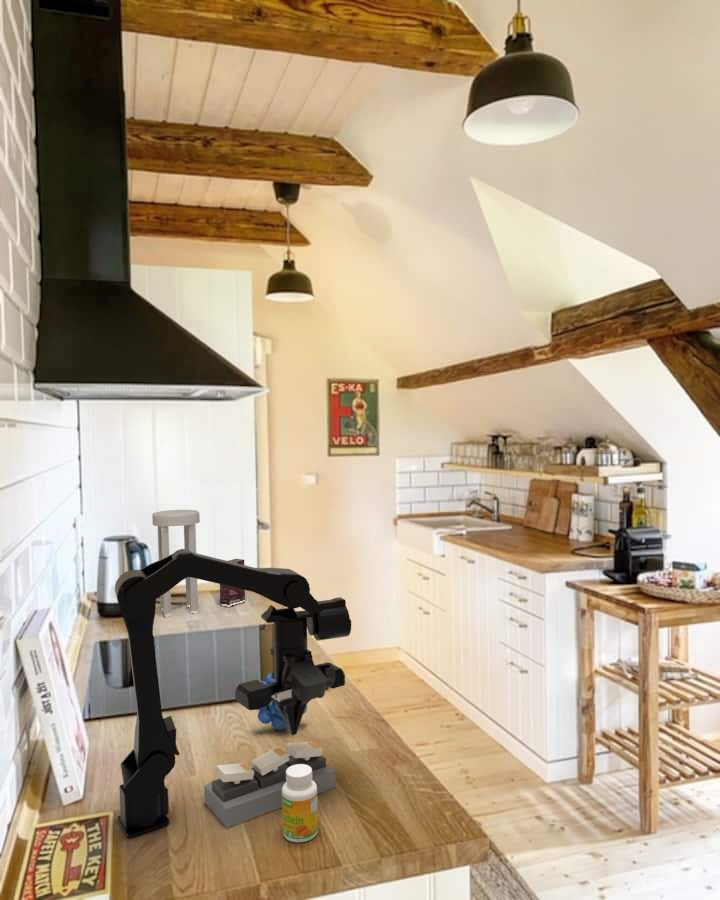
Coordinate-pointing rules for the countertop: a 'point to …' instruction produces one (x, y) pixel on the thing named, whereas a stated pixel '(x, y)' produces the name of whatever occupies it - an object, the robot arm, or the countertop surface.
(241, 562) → the supplement box
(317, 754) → the far rocker
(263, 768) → the middle rocker
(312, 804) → the supplement bottle
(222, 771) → the block
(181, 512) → the stool
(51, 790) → the countertop surface
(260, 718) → the grapes
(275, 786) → the rocker switch strip
